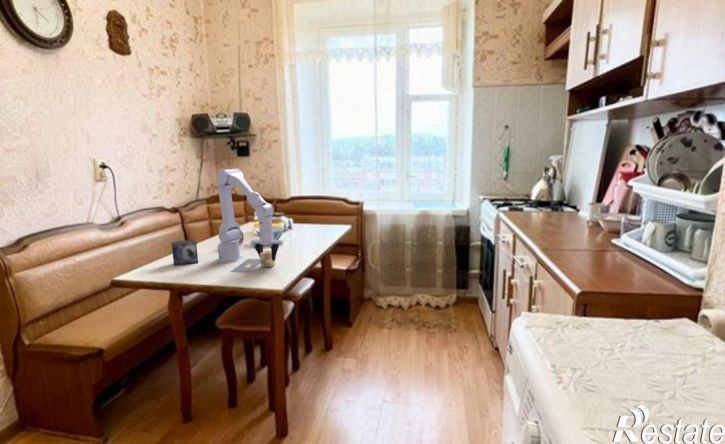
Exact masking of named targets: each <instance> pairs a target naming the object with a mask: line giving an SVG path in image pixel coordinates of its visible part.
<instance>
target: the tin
mask: <svg viewBox="0 0 725 444" xmlns="http://www.w3.org/2000/svg"><path fill="white" fill-rule="evenodd" d="M243 242H244V232H243V231H242V237H241V238H240V241H239V246H241V245H242V244H243Z"/></svg>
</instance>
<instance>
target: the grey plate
mask: <svg viewBox="0 0 725 444" xmlns="http://www.w3.org/2000/svg"><path fill="white" fill-rule="evenodd" d="M259 265H261V261H260V258H247V259H246V260H245V261H243V262H242V263H240V264H239V265H237V266H236V267H234V268H233V269H231V270H230V271H229V273H241V274H243V273H249V274H250V273H251V272H252V271H253V270H255V269H256V268H257V267H258V266H259Z"/></svg>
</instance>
